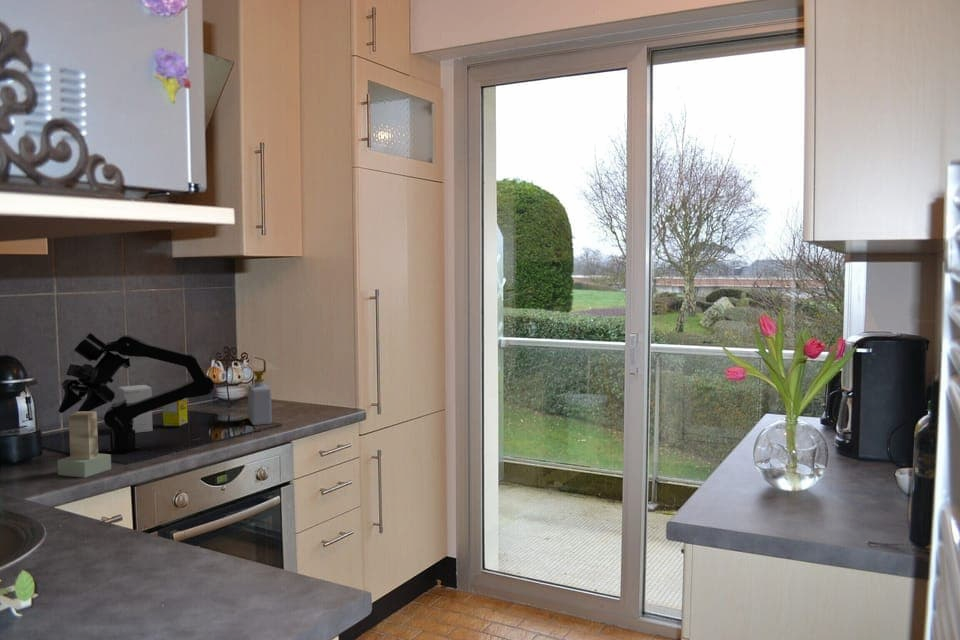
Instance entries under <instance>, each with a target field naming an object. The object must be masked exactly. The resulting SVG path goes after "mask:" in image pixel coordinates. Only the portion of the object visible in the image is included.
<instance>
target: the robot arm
mask: <svg viewBox="0 0 960 640" xmlns="http://www.w3.org/2000/svg"><path fill="white" fill-rule="evenodd" d="M73 352H75V353H77V354H78V355H79V356H81V357H83V358H84V359H85V360H88V361H89V362H92V361H95V362H97V361H98V360H99V358H100V357H101V358H100V360H99V361H98V362H97V363H96V364H95V366H94V367H93V365H92V364H90V363H84V364H83V365H79V364H73V363H72V364H71V363H70V364H69V366H68V368H67V371H66V374H65V375H66V376H68V377H70V376H72V377H74V378H78V379H73V378H68V379H67V378H66V379H64V381H62V383H61V386H62V389H63V391H64V395H63V399H62V402H61V403H60V406H59V409H58V412H59V413H60V414H63V413H65V412H66V411H68V410H69V409H70V408H71V407H73V406H75V405H76V404H77V403H79V402H81V401H82V400H83V398H84V397H85V396H86V398H85V399H84V401H83V402H82V404H81V405H80V407H79V409H78V410H77V412H81V411H94V410H95V409H97V408H98V407H99V408H100V407H101V406H103V405H106V404H108V403H111V406H110V407H108V408H107V409H106V411H105V412H104V413H105V414H104V416H103V422H104V423H105V425H106V426H107V427H109V428H110V429H111V430H110V436H109V441H110V449H107V452H108V453H114V454H115V453H117V454H128V453H130V452H133V451H136V450H140V449H141V448H140V446H137V445H136V442H137V441H136V433H135V430H133V429H132V428H133V423H134V421H133V420H132V419H134V418H135V417H137V416H138V415H141V414H143V413H146V412H149V411H152V412H153V411H154V410H156V409H157V410H158V409H159V408H163V406H165V405H168V404H171V403H174V402H176V401H179V400H182V399H184V398H187V399H190V398H197V397H202V396H208V395H210V394H211V393H212V392H213V390H214V387H215V385H214V381H213V379H212V378H211V377H210V376H209V375H207V374H205V373H204V371H203V370H202V368H201V366H200V364H199V363H198V360H197V358H196V356H195V355H194V354H191V353H189V354H188V353H183V352H181V351H176V350H173V349H168V348H164V347H160V346H156V345H153V344H149V343H147V342H145V341H143V340H141V339H139V338H136V337H135V336H132V335H129V334H125V335H121V336H120V337H119V338H117V340H114V341H109V342H106V343H105V342H104V341H102V340H101V339H100V338H98V337H97V336H96V335H95V334H93V333H92V332H90V333H88V334H87V336H86V337H84V339H83V340H81V341H80V342H79V343H78V344H77V345H76V347H75V348H74V349H73ZM113 352H115V353H116V354H115V353H113ZM102 355H103V356H102ZM121 355H122V356H121ZM123 356H127V358H124V357H123ZM130 357H137V358H138V357H141V358H150V359H154V360H157V361H161V362H164V363H165V362H166V363H169V364H174V365H177V366H181V367H185V369H187V372H188V373H189V375H190V377H191V379H190V380H188V381H186V382H184V383H183V384H182V385H180V386H177V387H175V388H172V389H169V390H166V391H163V392H160V393H158V394H155V395H152V397H149V398H146V399H144V400H141V401H138V402H135V403H127V400H126V399H125V400H123V401H121V402H119V401H118V402H117V403H112V402H113V400H115V397H116V393H115V391H114V390H112V389H111V388H110V387H109V386H108V385H107V384H108V383H109V384H110V383H111V384H112V383H113V382H114V378H113V377H114V376H115V375H116V373H118V371H119V370H120V369H121V368H122V367H123V368H125V369H127V370H128V369H129V367H131V361H130Z"/></svg>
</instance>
